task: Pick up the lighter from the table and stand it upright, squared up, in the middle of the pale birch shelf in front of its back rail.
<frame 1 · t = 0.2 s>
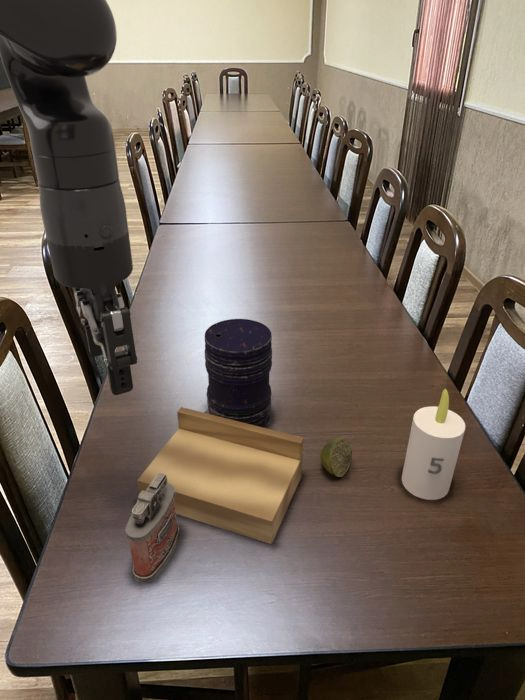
hand: (110, 371, 59), 20 cm above the table, tool pointing down, fingers open, 8 cm apart
shelf: (223, 489, 71), on the table
candle: (425, 484, 73), on the table
lime: (335, 471, 75), on the table
lighter: (157, 554, 63), on the table
dark blue cylinder: (239, 417, 85), on the table
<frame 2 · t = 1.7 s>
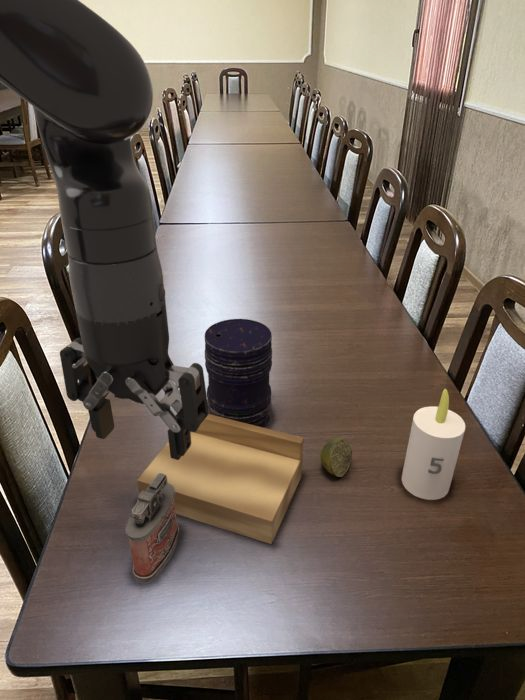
hand: (142, 443, 54), 17 cm above the table, tool pointing down, fingers open, 8 cm apart
nothing on the table moved.
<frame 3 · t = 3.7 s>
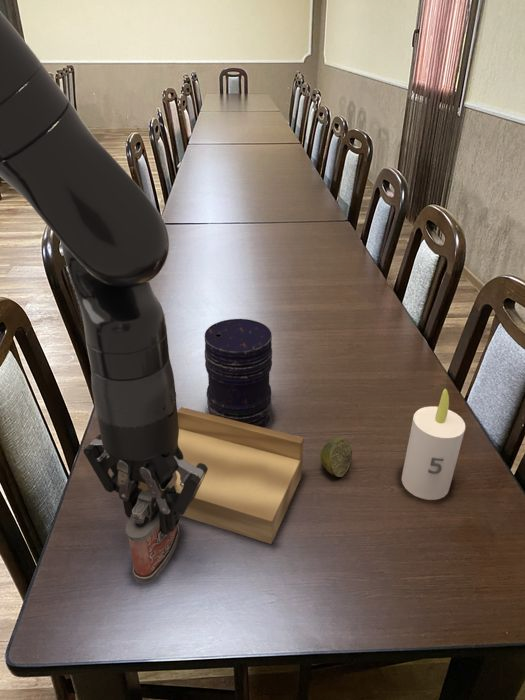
hand: (153, 523, 60), 5 cm above the table, tool pointing down, fingers closed on lighter, 3 cm apart
lighter: (157, 554, 63), on the table, touching gripper
everything else where it was.
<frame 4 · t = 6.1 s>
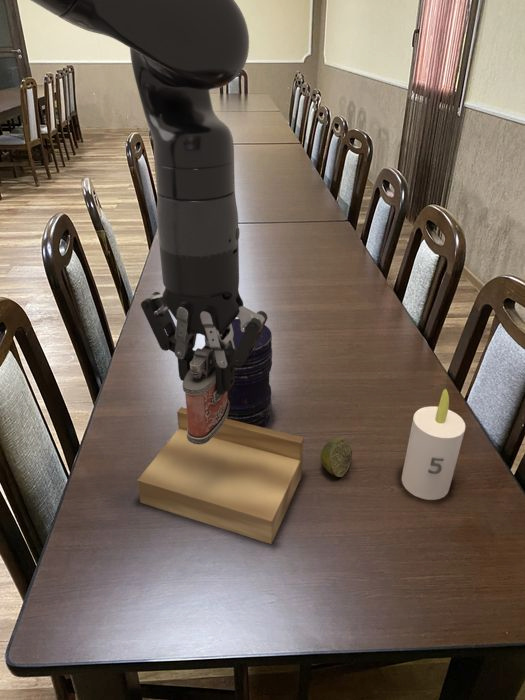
hand: (207, 386, 60), 18 cm above the table, tool pointing down, fingers closed on lighter, 3 cm apart
lighter: (209, 423, 63), point 13 cm above the table, touching gripper
everything else where it was.
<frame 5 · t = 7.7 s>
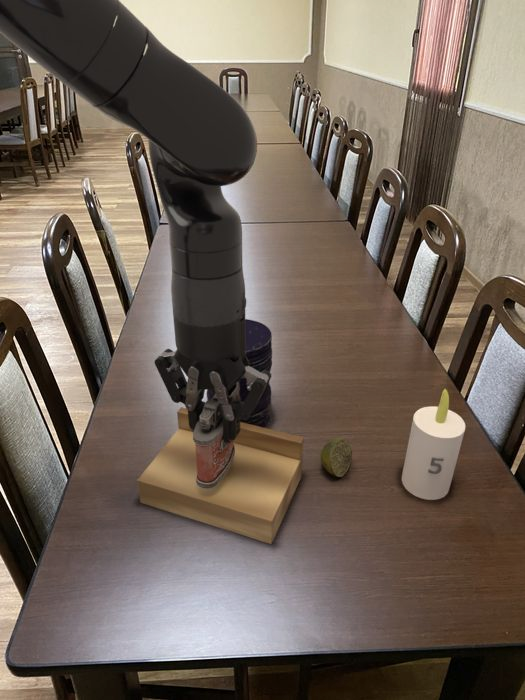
hand: (215, 434, 65), 11 cm above the table, tool pointing down, fingers closed on lighter, 3 cm apart
lighter: (216, 467, 67), point 5 cm above the table, touching gripper
everything else where it was.
when the fingers open (9 cm above the table, at t = 8.5 s): lighter stays where it is, resting on shelf.
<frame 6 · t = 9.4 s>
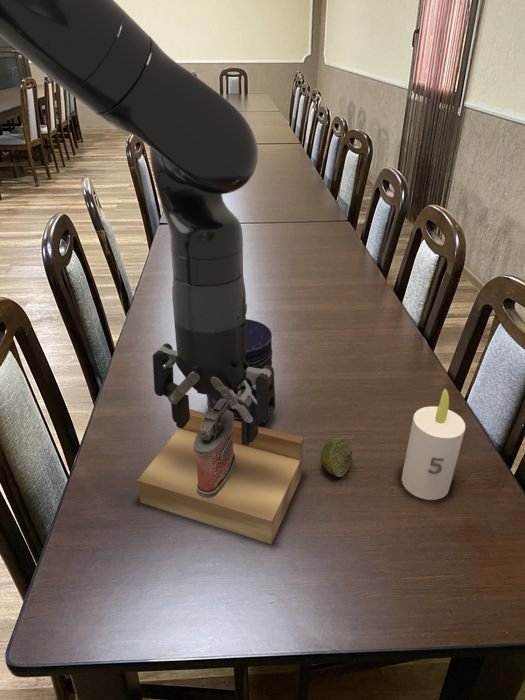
hand: (215, 432, 65), 11 cm above the table, tool pointing down, fingers open, 8 cm apart
lighter: (216, 476, 68), point 4 cm above the table, touching shelf
everything else where it was.
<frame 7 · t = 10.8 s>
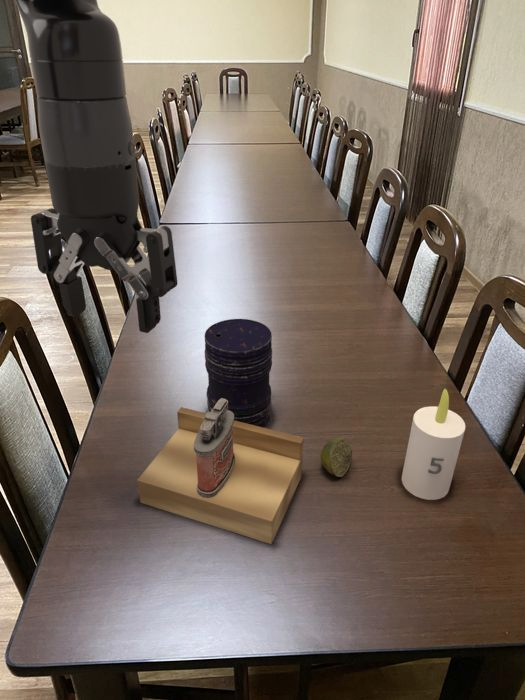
hand: (112, 321, 54), 27 cm above the table, tool pointing down, fingers open, 8 cm apart
nothing on the table moved.
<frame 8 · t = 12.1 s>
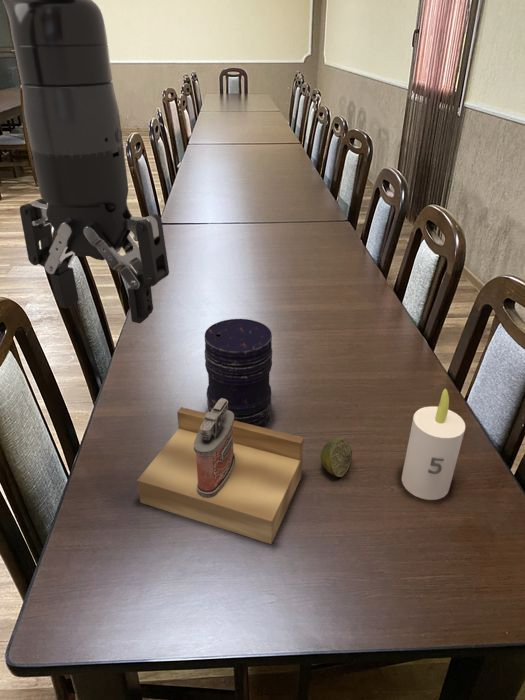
hand: (104, 312, 54), 28 cm above the table, tool pointing down, fingers open, 8 cm apart
nothing on the table moved.
at the end: lighter inside the target area on the shelf (1.1 cm from its centre), point 3.8 cm above the shelf's base; lighter tilted 0°; the gripper is holding nothing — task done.
